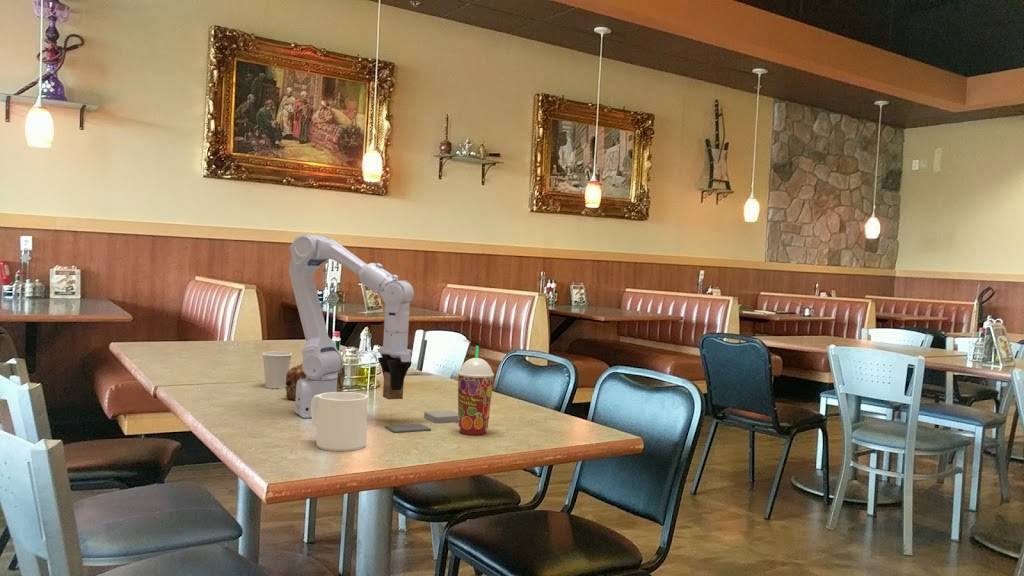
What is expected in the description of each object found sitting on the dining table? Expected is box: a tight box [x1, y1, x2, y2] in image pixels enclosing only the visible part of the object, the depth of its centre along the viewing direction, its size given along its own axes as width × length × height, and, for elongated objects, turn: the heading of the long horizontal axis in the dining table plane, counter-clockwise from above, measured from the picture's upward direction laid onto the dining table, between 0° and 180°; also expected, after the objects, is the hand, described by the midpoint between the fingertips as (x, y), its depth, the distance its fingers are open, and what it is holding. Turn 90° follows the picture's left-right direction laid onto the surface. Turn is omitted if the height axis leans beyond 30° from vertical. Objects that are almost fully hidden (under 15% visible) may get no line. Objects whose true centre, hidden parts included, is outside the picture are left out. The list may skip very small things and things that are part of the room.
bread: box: [285, 363, 346, 402], centre depth 214 cm, size 19×11×10 cm, turn 172°
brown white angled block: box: [382, 371, 432, 400], centre depth 187 cm, size 11×4×6 cm, turn 120°
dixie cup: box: [261, 350, 293, 389], centre depth 225 cm, size 8×8×10 cm
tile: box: [423, 410, 458, 424], centre depth 192 cm, size 2×7×8 cm
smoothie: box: [457, 345, 495, 436], centre depth 179 cm, size 8×8×20 cm
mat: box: [384, 423, 432, 434], centre depth 179 cm, size 9×6×1 cm, turn 120°
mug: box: [311, 391, 369, 452], centre depth 161 cm, size 13×10×10 cm
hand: (393, 388), depth 185 cm, fingers closed on brown white angled block, 4 cm apart
